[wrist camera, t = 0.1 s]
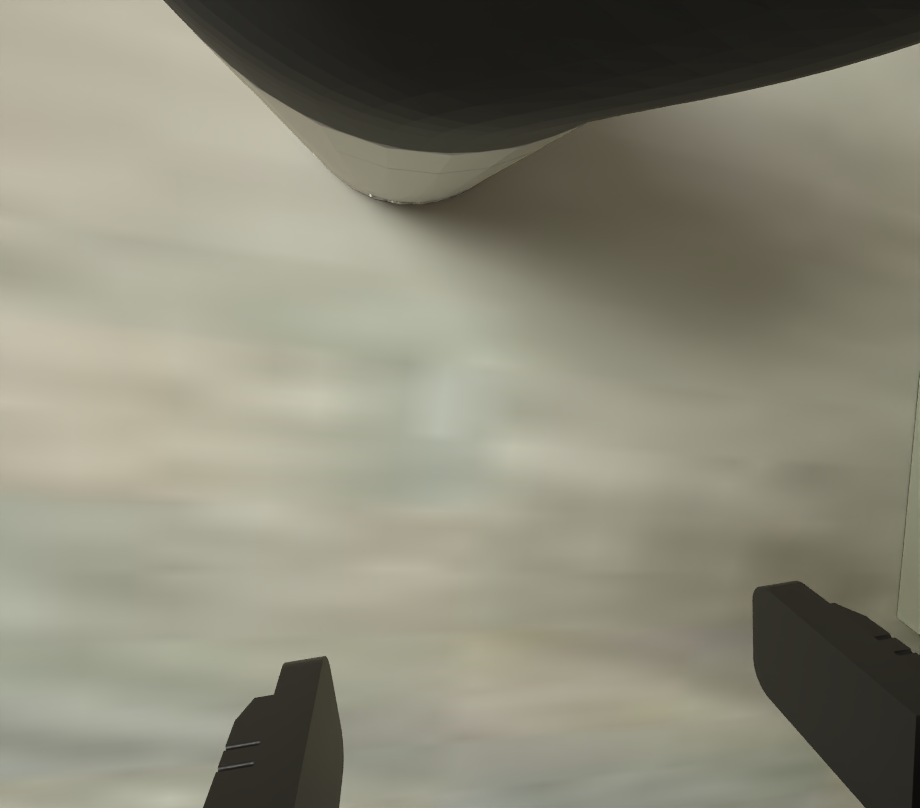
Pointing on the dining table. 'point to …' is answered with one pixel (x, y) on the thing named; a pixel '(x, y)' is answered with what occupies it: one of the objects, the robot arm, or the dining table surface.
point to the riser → (912, 542)
